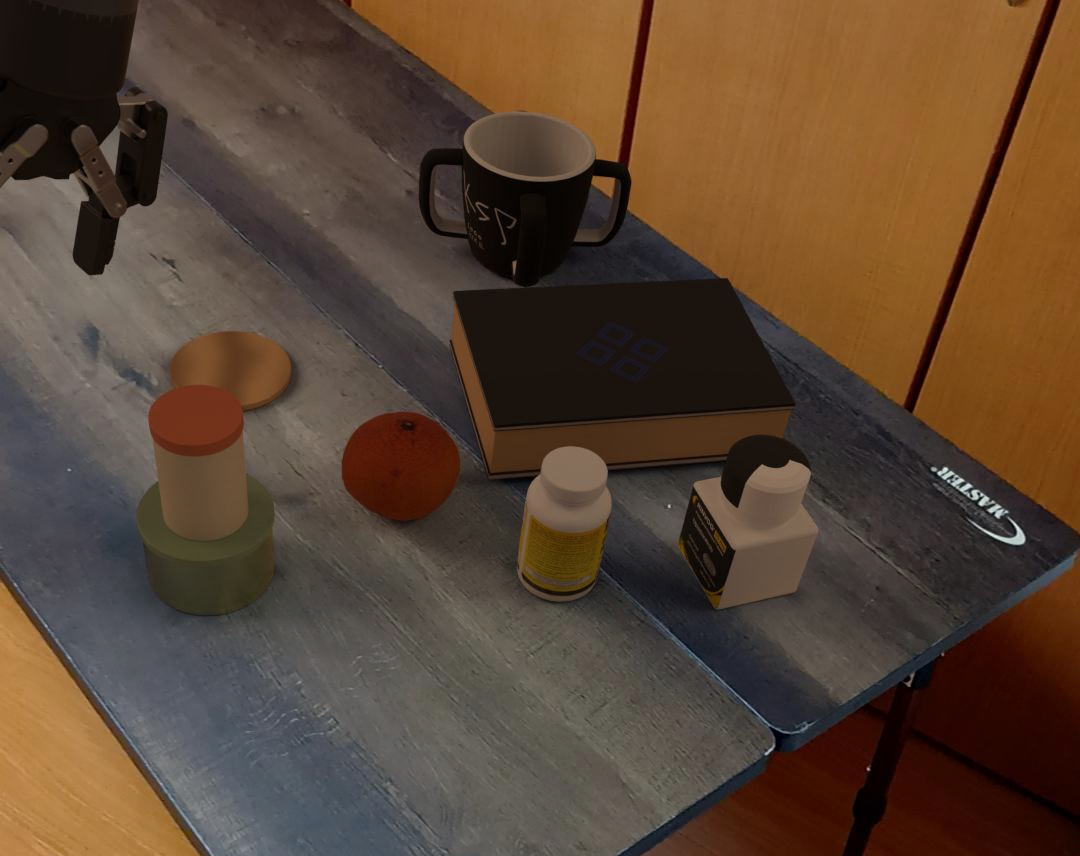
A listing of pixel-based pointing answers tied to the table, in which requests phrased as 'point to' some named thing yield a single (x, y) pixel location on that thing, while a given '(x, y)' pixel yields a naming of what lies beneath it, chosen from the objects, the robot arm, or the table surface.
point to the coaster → (234, 366)
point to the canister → (200, 461)
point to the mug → (524, 193)
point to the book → (613, 373)
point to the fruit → (400, 465)
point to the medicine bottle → (750, 524)
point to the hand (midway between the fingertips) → (17, 274)
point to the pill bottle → (565, 525)
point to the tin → (209, 557)
